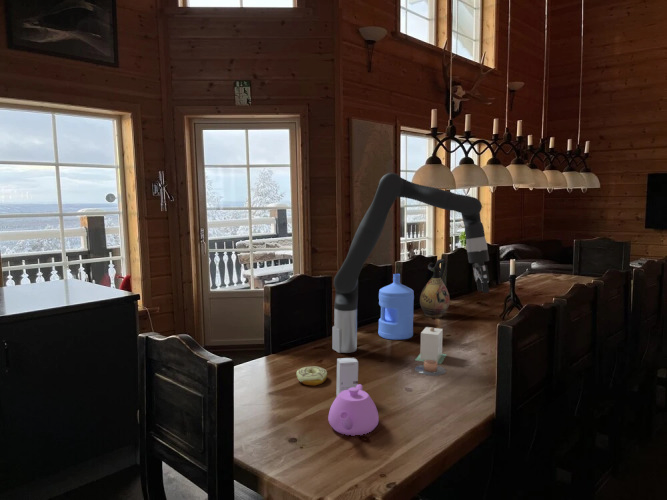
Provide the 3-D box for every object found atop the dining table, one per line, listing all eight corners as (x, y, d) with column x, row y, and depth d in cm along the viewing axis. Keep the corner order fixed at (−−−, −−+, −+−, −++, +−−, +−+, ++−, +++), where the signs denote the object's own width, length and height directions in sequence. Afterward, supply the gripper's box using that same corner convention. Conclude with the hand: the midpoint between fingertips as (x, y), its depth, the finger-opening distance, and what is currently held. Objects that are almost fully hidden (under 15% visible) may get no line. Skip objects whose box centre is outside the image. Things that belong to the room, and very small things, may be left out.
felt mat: (441, 364, 183) (441, 363, 183) (414, 361, 187) (414, 360, 187) (446, 355, 194) (446, 354, 194) (422, 352, 198) (422, 351, 198)
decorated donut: (296, 387, 162) (296, 376, 161) (296, 375, 172) (296, 364, 172) (327, 386, 162) (327, 375, 162) (326, 374, 173) (326, 364, 173)
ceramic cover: (437, 361, 185) (438, 331, 183) (420, 359, 187) (420, 329, 186) (441, 354, 193) (442, 325, 192) (425, 352, 196) (426, 324, 194)
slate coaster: (427, 378, 169) (427, 377, 169) (408, 368, 179) (408, 367, 179) (452, 373, 174) (452, 372, 174) (432, 363, 184) (432, 362, 184)
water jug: (403, 329, 231) (404, 270, 228) (419, 338, 216) (420, 276, 213) (372, 332, 226) (373, 272, 223) (387, 342, 211) (388, 278, 208)
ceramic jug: (437, 320, 247) (439, 262, 244) (413, 315, 258) (414, 259, 255) (457, 315, 258) (458, 259, 255) (433, 310, 270) (434, 256, 266)
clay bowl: (429, 373, 173) (429, 364, 173) (420, 368, 177) (421, 360, 177) (439, 370, 175) (440, 362, 175) (431, 366, 180) (431, 358, 179)
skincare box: (339, 401, 150) (339, 363, 149) (335, 395, 155) (336, 358, 153) (358, 399, 152) (358, 361, 150) (354, 393, 156) (354, 356, 155)
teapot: (317, 441, 126) (317, 401, 125) (337, 409, 145) (337, 374, 144) (370, 449, 122) (371, 408, 121) (383, 414, 141) (384, 379, 140)
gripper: (463, 251, 194) (469, 291, 194) (471, 251, 180) (477, 295, 180) (482, 248, 193) (488, 288, 193) (491, 248, 179) (498, 292, 179)
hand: (483, 291), depth 186 cm, fingers open, 8 cm apart
